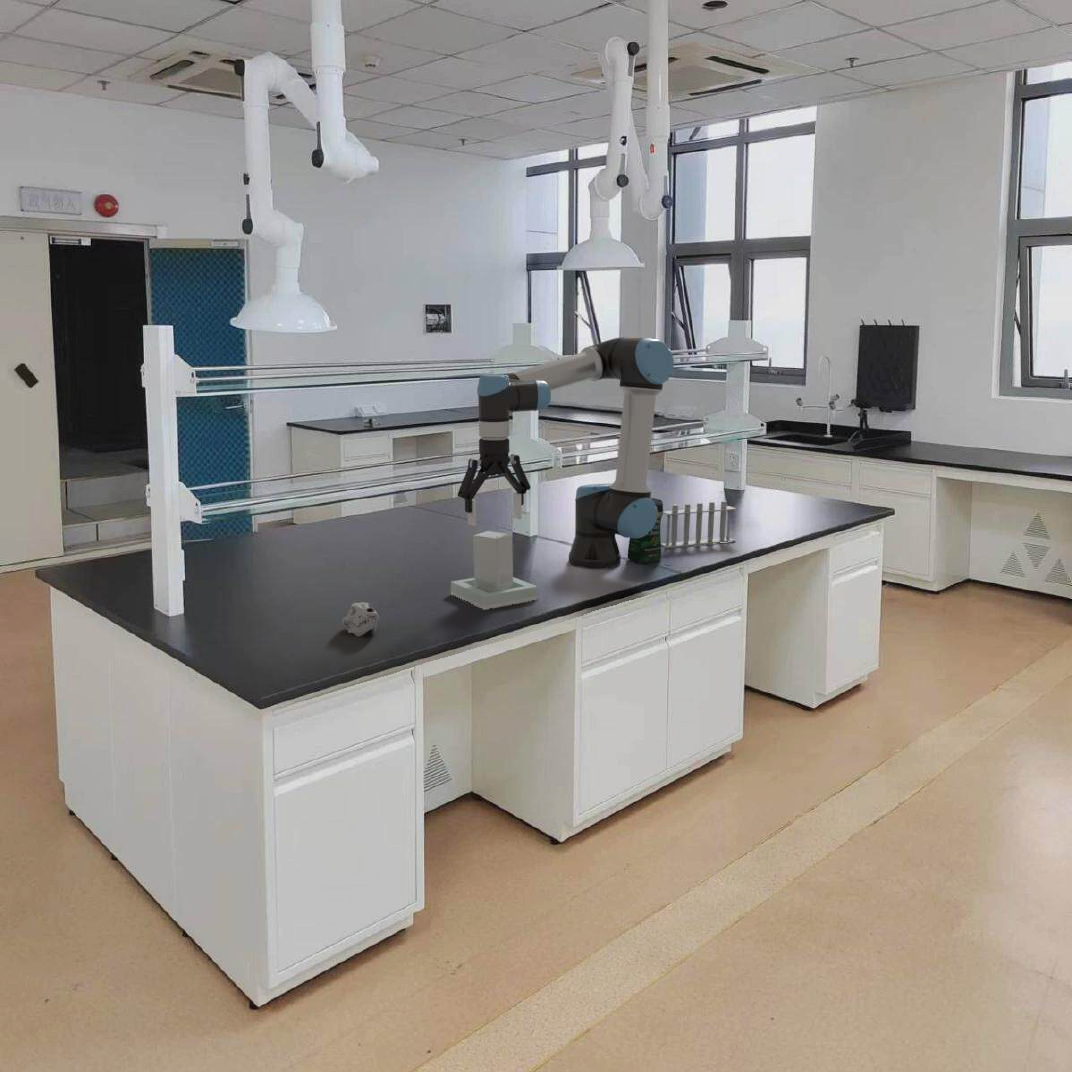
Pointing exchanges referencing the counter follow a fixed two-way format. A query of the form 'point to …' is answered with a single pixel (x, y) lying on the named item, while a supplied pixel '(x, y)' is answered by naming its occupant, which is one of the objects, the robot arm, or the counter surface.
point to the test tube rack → (698, 525)
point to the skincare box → (493, 561)
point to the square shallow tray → (494, 593)
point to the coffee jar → (648, 541)
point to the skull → (361, 619)
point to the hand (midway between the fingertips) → (494, 521)
